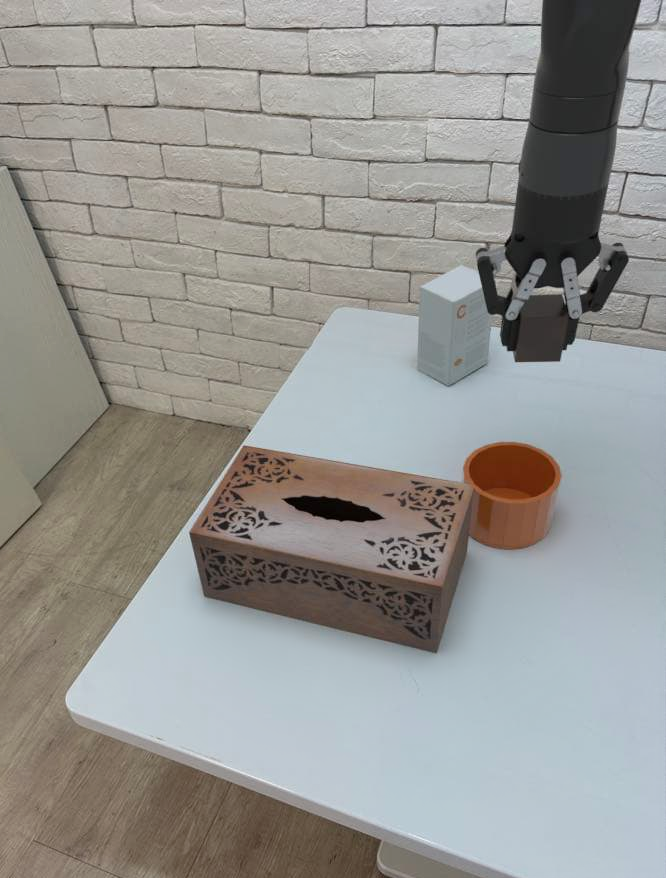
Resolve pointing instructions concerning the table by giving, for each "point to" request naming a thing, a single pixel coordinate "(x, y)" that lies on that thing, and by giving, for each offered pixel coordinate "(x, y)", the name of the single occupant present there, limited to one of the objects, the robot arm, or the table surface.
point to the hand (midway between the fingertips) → (535, 346)
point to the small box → (453, 326)
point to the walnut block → (541, 329)
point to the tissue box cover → (335, 544)
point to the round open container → (511, 494)
